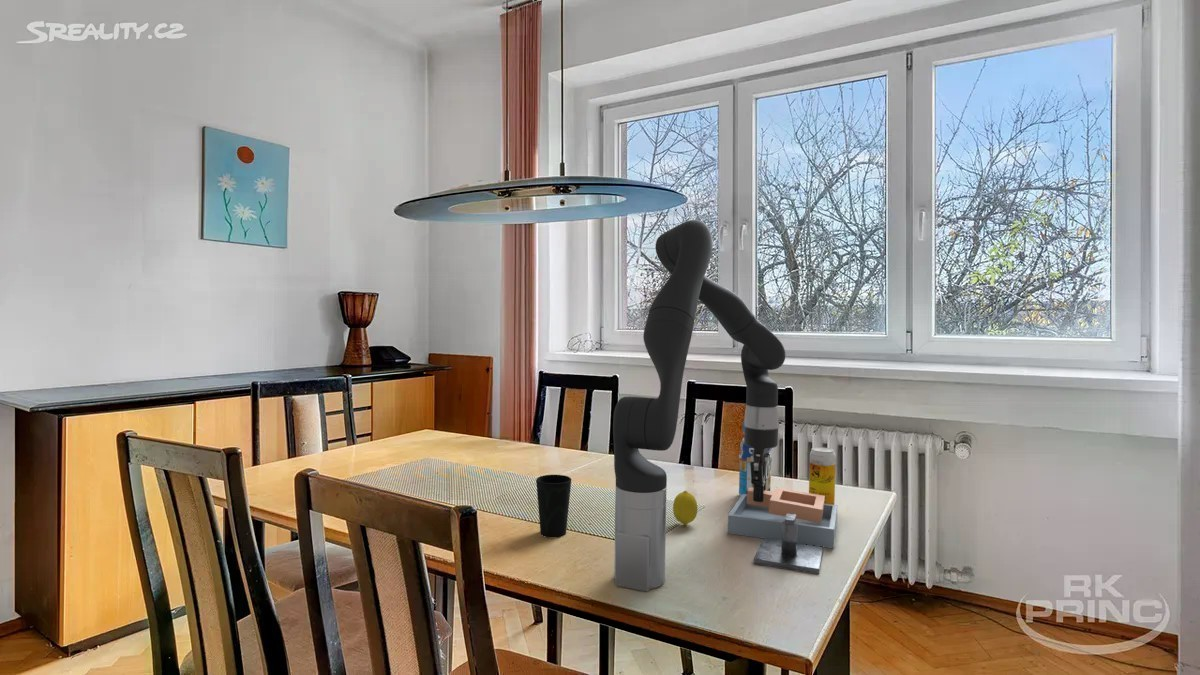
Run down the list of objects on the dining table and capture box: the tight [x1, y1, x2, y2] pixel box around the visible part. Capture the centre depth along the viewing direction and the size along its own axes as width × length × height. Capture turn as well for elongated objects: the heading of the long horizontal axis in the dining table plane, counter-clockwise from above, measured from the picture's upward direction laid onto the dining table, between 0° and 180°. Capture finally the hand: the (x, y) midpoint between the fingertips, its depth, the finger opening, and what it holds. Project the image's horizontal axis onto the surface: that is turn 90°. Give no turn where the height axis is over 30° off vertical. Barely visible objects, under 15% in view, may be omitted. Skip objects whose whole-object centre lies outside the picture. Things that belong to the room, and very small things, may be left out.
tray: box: [727, 494, 838, 549], centre depth 145 cm, size 18×22×4 cm
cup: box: [535, 474, 572, 538], centre depth 139 cm, size 8×8×12 cm
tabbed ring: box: [746, 487, 825, 523], centre depth 145 cm, size 11×16×3 cm, turn 68°
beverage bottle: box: [738, 420, 773, 497], centre depth 169 cm, size 8×8×20 cm
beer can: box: [808, 446, 837, 505], centre depth 159 cm, size 6×6×15 cm
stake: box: [753, 514, 824, 575], centre depth 127 cm, size 12×12×8 cm
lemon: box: [672, 490, 698, 526], centre depth 146 cm, size 6×6×8 cm
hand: (759, 498), depth 147 cm, fingers closed on tabbed ring, 3 cm apart
